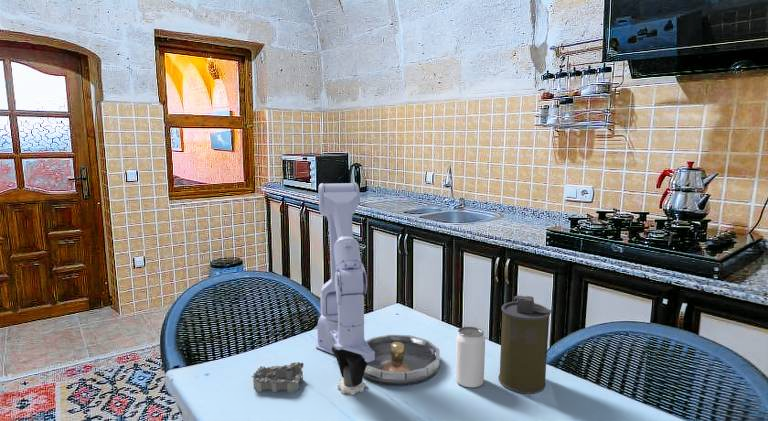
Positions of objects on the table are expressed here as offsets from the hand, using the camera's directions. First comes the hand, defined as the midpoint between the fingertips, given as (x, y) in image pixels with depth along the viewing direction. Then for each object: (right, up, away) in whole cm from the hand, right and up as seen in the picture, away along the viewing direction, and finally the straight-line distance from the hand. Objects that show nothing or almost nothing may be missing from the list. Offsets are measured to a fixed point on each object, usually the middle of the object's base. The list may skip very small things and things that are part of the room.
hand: (351, 379), depth 103 cm
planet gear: (0, -2, 0) cm, 2 cm away
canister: (+39, -2, +3) cm, 39 cm away
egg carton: (-17, -2, +2) cm, 17 cm away
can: (+27, -2, +3) cm, 27 cm away
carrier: (+11, 0, +11) cm, 15 cm away
